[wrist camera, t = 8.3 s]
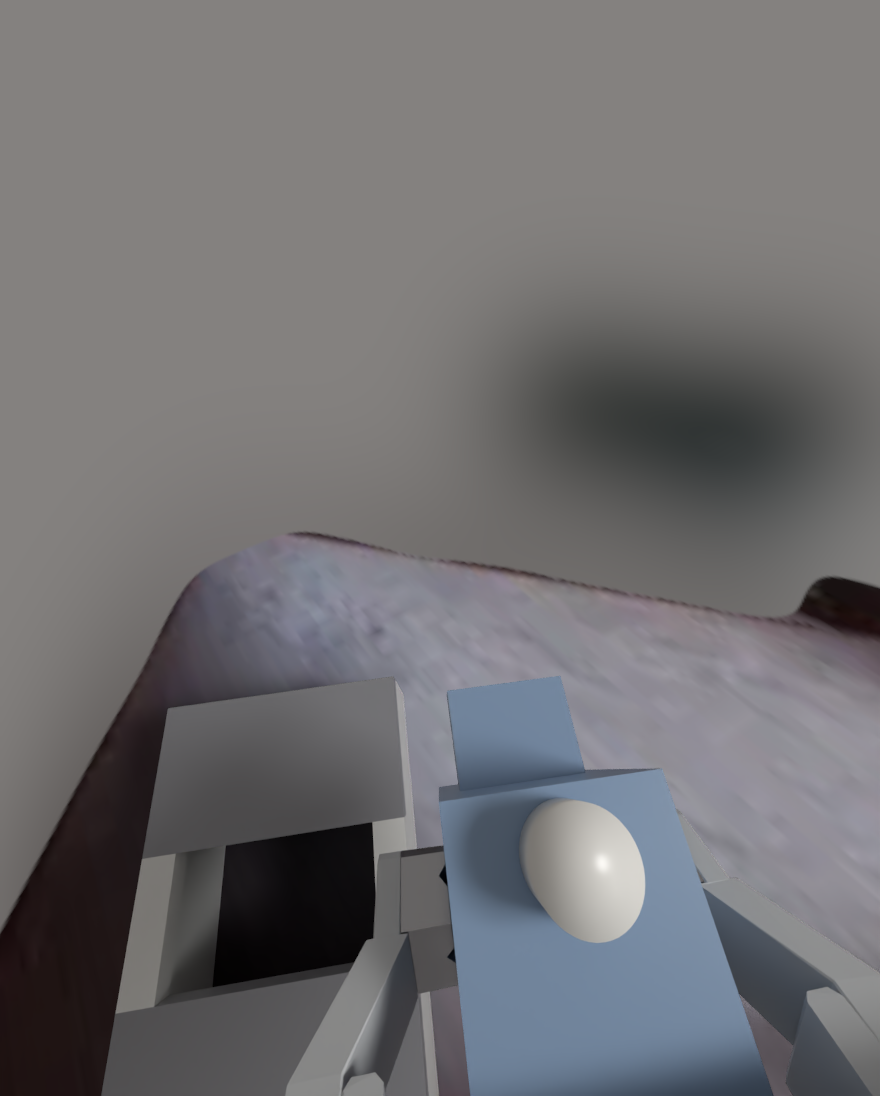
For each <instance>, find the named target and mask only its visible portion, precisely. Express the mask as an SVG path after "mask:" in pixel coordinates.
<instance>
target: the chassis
mask: <svg viewBox="0 0 880 1096" xmlns="http://www.w3.org/2000/svg"><path fill="white" fill-rule="evenodd" d="M370 822H372V824H373V845H374V866H375V887H376V881H377V863H378V858H379V854H383V853H390V852H396V851H404V850H412V849H417V841H416V830H415V819H414V807H413V796H412V785H411V774H410V762H409V751H408V740H407V728H406V717H405V706H404V695H403V693H402V691H401V689H400V688H399V686H398V684H397V682H396V680H395V679H394V677H386V678H379V679H372V680H365V681H358V682H350V683H343V684H336V685H329V686H322V687H315V688H308V689H301V690H294V691H287V692H280V693H273V694H266V695H259V696H252V697H245V698H238V699H231V700H224V701H217V702H210V703H203V704H196V705H189V706H182V707H175V708H168V712H167V718H166V724H165V729H164V735H163V741H162V747H161V753H160V758H159V764H158V770H157V776H156V781H155V787H154V793H153V799H152V805H151V810H150V816H149V822H148V828H147V834H146V839H145V845H144V851H143V857H142V862H141V868H140V874H139V880H138V886H137V891H136V897H135V903H134V909H133V915H132V920H131V926H130V932H129V938H128V943H127V949H126V955H125V961H124V967H123V972H122V978H121V984H120V990H119V996H118V1001H117V1007H116V1013H115V1019H114V1024H113V1030H112V1036H111V1042H110V1048H109V1053H108V1059H107V1065H106V1071H105V1077H104V1082H103V1088H102V1094H101V1096H285V1094H286V1088H287V1084H288V1083H289V1081H290V1079H291V1077H292V1075H293V1074H294V1072H295V1070H296V1068H297V1066H298V1064H299V1063H300V1061H301V1059H302V1057H303V1055H304V1053H305V1052H306V1050H307V1048H308V1046H309V1044H310V1042H311V1041H312V1039H313V1037H314V1035H315V1033H316V1031H317V1030H318V1028H319V1026H320V1024H321V1022H322V1020H323V1019H324V1017H325V1015H326V1013H327V1011H328V1009H329V1008H330V1006H331V1004H332V1002H333V1000H334V998H335V997H336V995H337V993H338V991H339V989H340V987H341V986H342V984H343V982H344V980H345V978H346V976H347V975H348V973H349V971H350V969H351V967H352V965H353V964H354V962H353V963H347V964H342V965H336V966H330V967H325V968H319V969H313V970H308V971H302V972H296V973H291V974H285V975H279V976H274V977H268V978H262V979H257V980H251V981H245V982H240V983H234V984H228V985H223V986H217V987H212V986H213V976H214V965H215V954H216V944H217V933H218V923H219V912H220V902H221V891H222V881H223V870H224V859H225V849H226V845H232V844H239V843H245V842H251V841H257V840H264V839H270V838H276V837H282V836H289V835H295V834H301V833H307V832H314V831H320V830H326V829H332V828H339V827H345V826H351V825H357V824H364V823H370ZM385 1091H386V1096H439V1089H438V1078H437V1067H436V1055H435V1044H434V1033H433V1022H432V1010H431V999H430V991H429V992H425V993H420V994H418V1000H417V1003H416V1005H415V1008H414V1011H413V1014H412V1017H411V1020H410V1022H409V1025H408V1028H407V1031H406V1034H405V1036H404V1039H403V1042H402V1045H401V1048H400V1051H399V1053H398V1056H397V1059H396V1062H395V1065H394V1067H393V1070H392V1073H391V1076H390V1079H389V1082H388V1084H387V1087H386V1090H385Z"/></svg>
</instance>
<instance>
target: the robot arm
mask: <svg viewBox="0 0 880 1096" xmlns="http://www.w3.org/2000/svg"><path fill="white" fill-rule="evenodd" d="M676 811H677V814H678V817H679V820H680V823H681V826H682V829H683V832H684V835H685V838H686V841H687V844H688V847H689V849H690V852H691V855H692V858H693V861H694V864H695V867H696V870H697V873H698V876H699V879H700V882H701V885H702V888H703V891H704V893H705V896H706V899H707V902H708V905H709V908H710V911H711V914H712V917H713V920H714V923H715V926H716V929H717V932H718V935H719V937H720V940H721V943H722V946H723V949H724V952H725V955H726V958H727V961H728V964H729V967H730V970H731V973H732V976H733V979H734V981H735V984H736V987H737V990H738V993H739V994H740V995H741V996H742V997H743V998H744V999H745V1000H746V1001H747V1002H748V1003H749V1004H750V1005H751V1006H752V1007H754V1008H755V1009H756V1010H757V1011H758V1012H759V1013H760V1014H761V1015H762V1016H763V1017H764V1018H765V1019H766V1020H767V1021H768V1022H769V1023H770V1024H771V1025H772V1026H773V1027H774V1028H775V1029H777V1030H778V1031H779V1032H780V1033H781V1034H782V1035H783V1036H784V1037H785V1038H786V1039H787V1040H788V1041H789V1042H790V1043H791V1044H792V1045H793V1048H792V1052H791V1056H790V1060H789V1065H788V1069H787V1074H786V1084H787V1086H788V1088H789V1089H790V1091H791V1093H792V1095H793V1096H880V973H879V972H878V971H876V970H875V969H873V968H871V967H870V966H868V965H867V964H865V963H864V962H862V961H861V960H859V959H858V958H856V957H855V956H853V955H852V954H850V953H849V952H847V951H846V950H844V949H843V948H841V947H840V946H838V945H837V944H835V943H834V942H832V941H831V940H829V939H828V938H826V937H825V936H823V935H822V934H820V933H819V932H817V931H816V930H814V929H813V928H811V927H810V926H808V925H807V924H805V923H804V922H802V921H801V920H799V919H798V918H796V917H795V916H793V915H792V914H790V913H789V912H787V911H786V910H784V909H783V908H781V907H780V906H778V905H777V904H775V903H774V902H772V901H771V900H769V899H768V898H766V897H765V896H763V895H762V894H760V893H759V892H757V891H756V890H754V889H753V888H751V887H750V886H748V885H747V884H745V883H744V882H742V881H741V880H739V879H738V878H729V877H728V875H727V874H726V873H725V871H724V870H723V869H722V867H721V866H720V864H719V863H718V862H717V860H716V859H715V858H714V856H713V855H712V854H711V852H710V851H709V850H708V848H707V847H706V846H705V844H704V843H703V842H702V840H701V839H700V837H699V836H698V835H697V833H696V832H695V831H694V829H693V828H692V827H691V825H690V824H689V823H688V821H687V820H686V819H685V817H684V816H683V815H682V813H681V812H680V811H679V810H677V809H676ZM457 985H458V977H457V966H456V956H455V947H454V938H453V928H452V919H451V910H450V900H449V891H448V882H447V873H446V863H445V854H444V846H435V847H427V848H419V849H412V850H404V851H396V852H390V853H383V854H379V858H378V863H377V881H376V899H375V917H374V935H373V939H369V940H366V942H365V944H364V945H363V947H362V949H361V951H360V953H359V955H358V956H357V958H356V960H355V962H354V964H353V965H352V967H351V969H350V971H349V973H348V975H347V976H346V978H345V980H344V982H343V984H342V986H341V987H340V989H339V991H338V993H337V995H336V997H335V998H334V1000H333V1002H332V1004H331V1006H330V1008H329V1009H328V1011H327V1013H326V1015H325V1017H324V1019H323V1020H322V1022H321V1024H320V1026H319V1028H318V1030H317V1031H316V1033H315V1035H314V1037H313V1039H312V1041H311V1042H310V1044H309V1046H308V1048H307V1050H306V1052H305V1053H304V1055H303V1057H302V1059H301V1061H300V1063H299V1064H298V1066H297V1068H296V1070H295V1072H294V1074H293V1075H292V1077H291V1079H290V1081H289V1083H288V1084H287V1088H286V1094H285V1096H386V1091H385V1090H386V1087H387V1084H388V1082H389V1079H390V1076H391V1073H392V1070H393V1067H394V1065H395V1062H396V1059H397V1056H398V1053H399V1051H400V1048H401V1045H402V1042H403V1039H404V1036H405V1034H406V1031H407V1028H408V1025H409V1022H410V1020H411V1017H412V1014H413V1011H414V1008H415V1005H416V1003H417V1000H418V994H420V993H425V992H429V991H434V990H439V989H443V988H448V987H453V986H457Z"/></svg>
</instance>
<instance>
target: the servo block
mask: <svg viewBox="0 0 880 1096" xmlns="http://www.w3.org/2000/svg"><path fill="white" fill-rule="evenodd" d="M447 700H448V708H449V716H450V723H451V731H452V739H453V747H454V754H455V762H456V770H457V778H458V785H451V786H444V787H439V807H440V817H441V826H442V835H443V845H444V854H445V863H446V873H447V882H448V891H449V900H450V910H451V919H452V928H453V938H454V947H455V956H456V966H457V975H458V984H459V993H460V1003H461V1012H462V1021H463V1031H464V1040H465V1049H466V1059H467V1068H468V1077H469V1087H470V1096H773V1093H772V1090H771V1087H770V1084H769V1081H768V1078H767V1075H766V1072H765V1069H764V1067H763V1064H762V1061H761V1058H760V1055H759V1052H758V1049H757V1046H756V1043H755V1040H754V1037H753V1034H752V1031H751V1028H750V1025H749V1023H748V1020H747V1017H746V1014H745V1011H744V1008H743V1005H742V1002H741V999H740V996H739V993H738V990H737V987H736V984H735V981H734V979H733V976H732V973H731V970H730V967H729V964H728V961H727V958H726V955H725V952H724V949H723V946H722V943H721V940H720V937H719V935H718V932H717V929H716V926H715V923H714V920H713V917H712V914H711V911H710V908H709V905H708V902H707V899H706V896H705V893H704V891H703V888H702V885H701V882H700V879H699V876H698V873H697V870H696V867H695V864H694V861H693V858H692V855H691V852H690V849H689V847H688V844H687V841H686V838H685V835H684V832H683V829H682V826H681V823H680V820H679V817H678V814H677V811H676V808H675V805H674V803H673V800H672V797H671V794H670V791H669V788H668V785H667V782H666V779H665V776H664V773H663V770H662V769H606V770H585V769H584V765H583V761H582V757H581V753H580V750H579V746H578V742H577V738H576V734H575V730H574V727H573V723H572V719H571V715H570V711H569V707H568V704H567V700H566V696H565V692H564V688H563V684H562V681H561V677H560V676H555V677H548V678H540V679H533V680H525V681H518V682H510V683H503V684H495V685H488V686H480V687H473V688H465V689H458V690H450V691H447Z"/></svg>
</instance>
